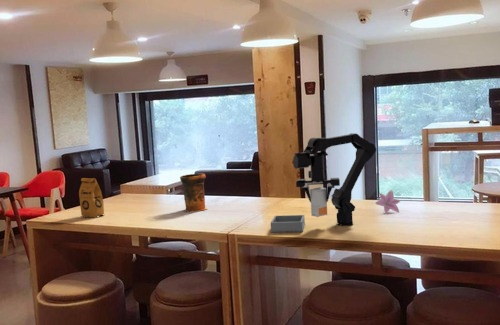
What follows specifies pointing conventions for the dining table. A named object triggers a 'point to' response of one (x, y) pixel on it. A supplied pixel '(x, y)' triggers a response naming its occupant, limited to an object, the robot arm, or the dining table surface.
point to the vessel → (194, 192)
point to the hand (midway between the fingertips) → (318, 201)
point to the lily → (388, 202)
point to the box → (287, 223)
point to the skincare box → (318, 202)
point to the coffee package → (91, 198)
